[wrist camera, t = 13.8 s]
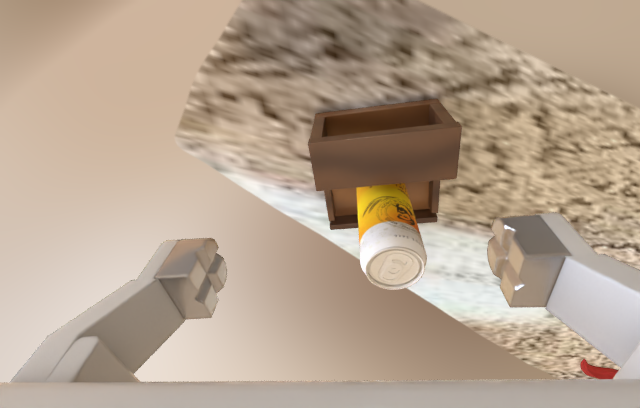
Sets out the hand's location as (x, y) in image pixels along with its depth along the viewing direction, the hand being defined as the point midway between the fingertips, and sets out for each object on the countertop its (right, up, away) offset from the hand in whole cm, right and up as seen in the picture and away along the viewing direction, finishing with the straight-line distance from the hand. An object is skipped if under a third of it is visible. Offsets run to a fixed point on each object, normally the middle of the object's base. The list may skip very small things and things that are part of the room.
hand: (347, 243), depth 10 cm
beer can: (+7, +4, +32) cm, 33 cm away
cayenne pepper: (+55, -32, +54) cm, 84 cm away
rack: (+7, +7, +31) cm, 33 cm away
